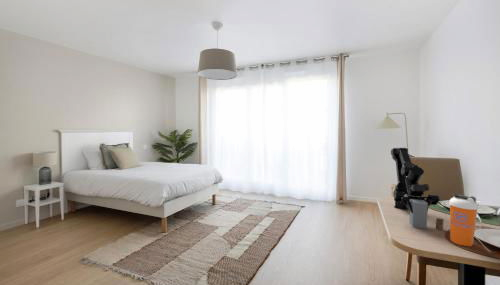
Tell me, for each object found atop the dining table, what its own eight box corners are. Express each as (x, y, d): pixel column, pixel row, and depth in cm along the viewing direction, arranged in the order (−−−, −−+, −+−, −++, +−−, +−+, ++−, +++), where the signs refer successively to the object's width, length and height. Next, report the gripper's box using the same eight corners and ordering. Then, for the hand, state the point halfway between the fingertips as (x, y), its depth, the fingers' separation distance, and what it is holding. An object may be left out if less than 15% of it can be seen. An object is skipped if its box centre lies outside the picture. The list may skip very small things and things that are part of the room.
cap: (409, 222, 119) (410, 198, 118) (422, 224, 117) (423, 200, 116) (412, 226, 114) (413, 201, 113) (426, 228, 112) (427, 203, 111)
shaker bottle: (448, 235, 104) (451, 191, 103) (476, 242, 98) (479, 196, 97) (446, 242, 98) (448, 195, 97) (475, 250, 92) (478, 200, 91)
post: (435, 228, 112) (436, 218, 111) (436, 227, 113) (437, 217, 113) (442, 230, 110) (442, 220, 109) (443, 229, 111) (443, 219, 111)
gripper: (396, 176, 121) (400, 203, 111) (439, 179, 115) (448, 207, 105) (391, 187, 129) (396, 213, 119) (432, 191, 123) (440, 218, 113)
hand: (419, 213), depth 114 cm, fingers closed on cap, 6 cm apart
